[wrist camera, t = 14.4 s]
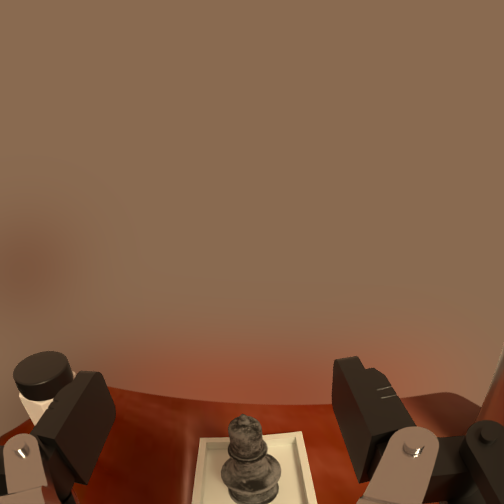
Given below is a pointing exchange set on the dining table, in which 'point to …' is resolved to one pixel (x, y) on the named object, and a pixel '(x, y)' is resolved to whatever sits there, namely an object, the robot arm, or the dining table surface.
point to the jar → (41, 380)
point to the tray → (279, 446)
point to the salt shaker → (250, 464)
